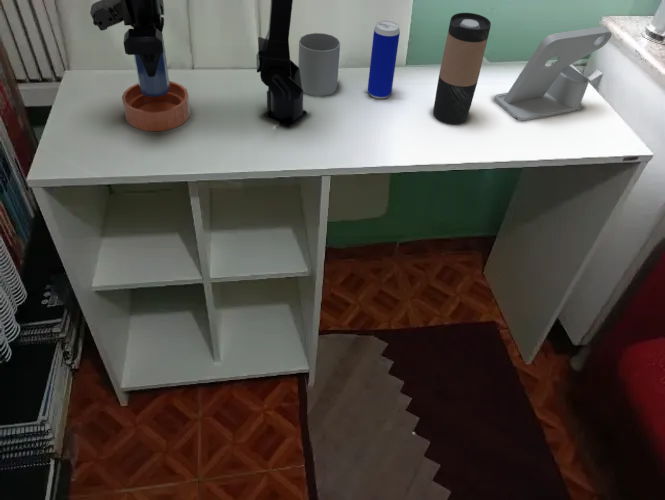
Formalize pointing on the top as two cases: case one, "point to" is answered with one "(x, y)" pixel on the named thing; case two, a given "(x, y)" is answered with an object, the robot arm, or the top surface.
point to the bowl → (156, 108)
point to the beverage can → (383, 59)
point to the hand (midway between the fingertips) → (152, 68)
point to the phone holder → (553, 75)
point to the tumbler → (153, 78)
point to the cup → (319, 63)
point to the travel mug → (460, 67)
